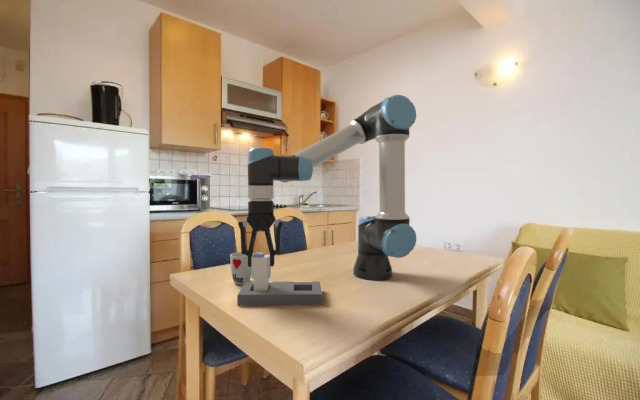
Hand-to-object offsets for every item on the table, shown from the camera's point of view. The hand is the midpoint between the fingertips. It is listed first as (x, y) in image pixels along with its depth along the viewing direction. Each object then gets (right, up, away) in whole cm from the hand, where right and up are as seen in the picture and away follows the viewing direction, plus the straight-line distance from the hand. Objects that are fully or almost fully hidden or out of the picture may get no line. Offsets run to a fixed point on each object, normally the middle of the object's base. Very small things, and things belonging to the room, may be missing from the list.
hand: (261, 276), depth 89 cm
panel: (+6, -6, +1) cm, 9 cm away
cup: (-10, -6, +15) cm, 19 cm away
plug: (0, -4, 0) cm, 4 cm away
